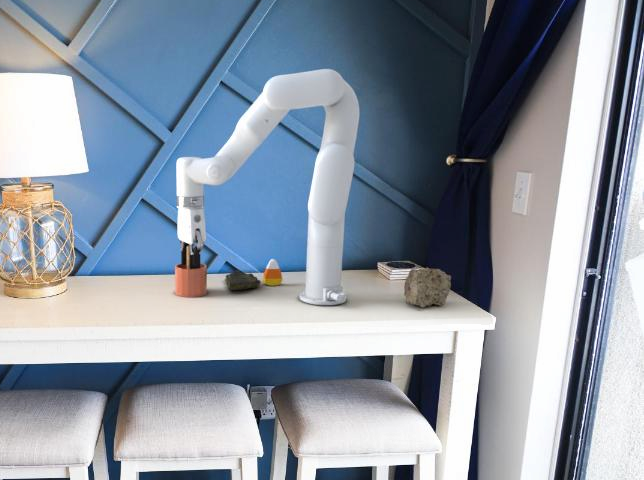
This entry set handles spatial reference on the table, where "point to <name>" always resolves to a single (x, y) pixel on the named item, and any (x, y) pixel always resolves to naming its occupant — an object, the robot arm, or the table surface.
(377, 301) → the table surface
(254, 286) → the stone
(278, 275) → the candy corn
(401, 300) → the table surface
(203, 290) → the tumbler
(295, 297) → the table surface
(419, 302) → the rock
